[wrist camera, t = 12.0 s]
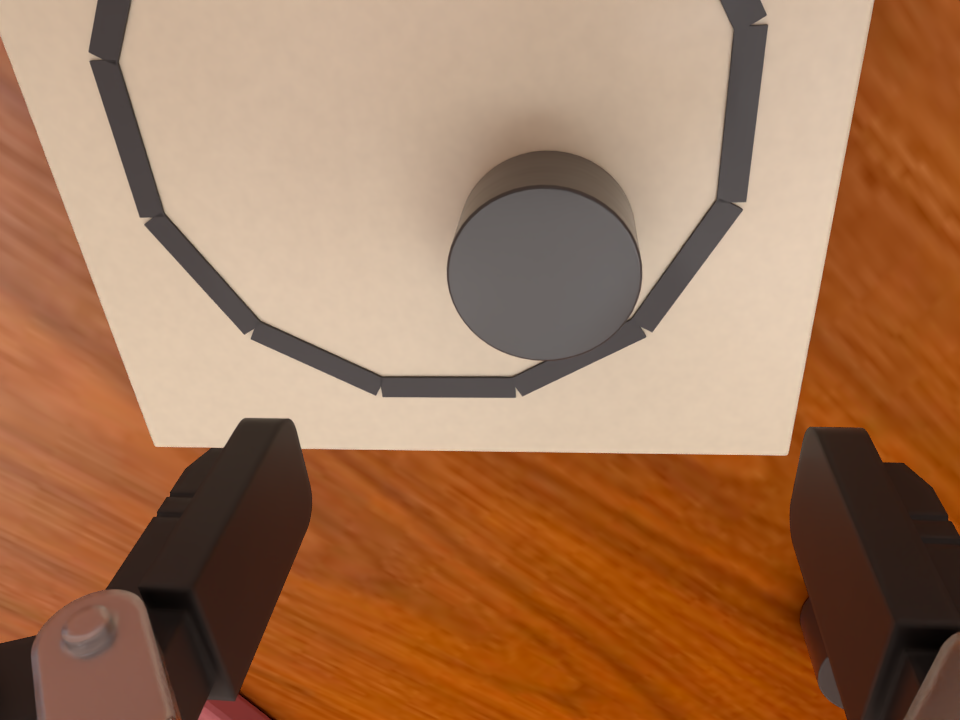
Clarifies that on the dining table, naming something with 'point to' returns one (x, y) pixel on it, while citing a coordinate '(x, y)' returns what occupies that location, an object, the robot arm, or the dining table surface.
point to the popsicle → (231, 710)
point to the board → (442, 206)
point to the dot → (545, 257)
